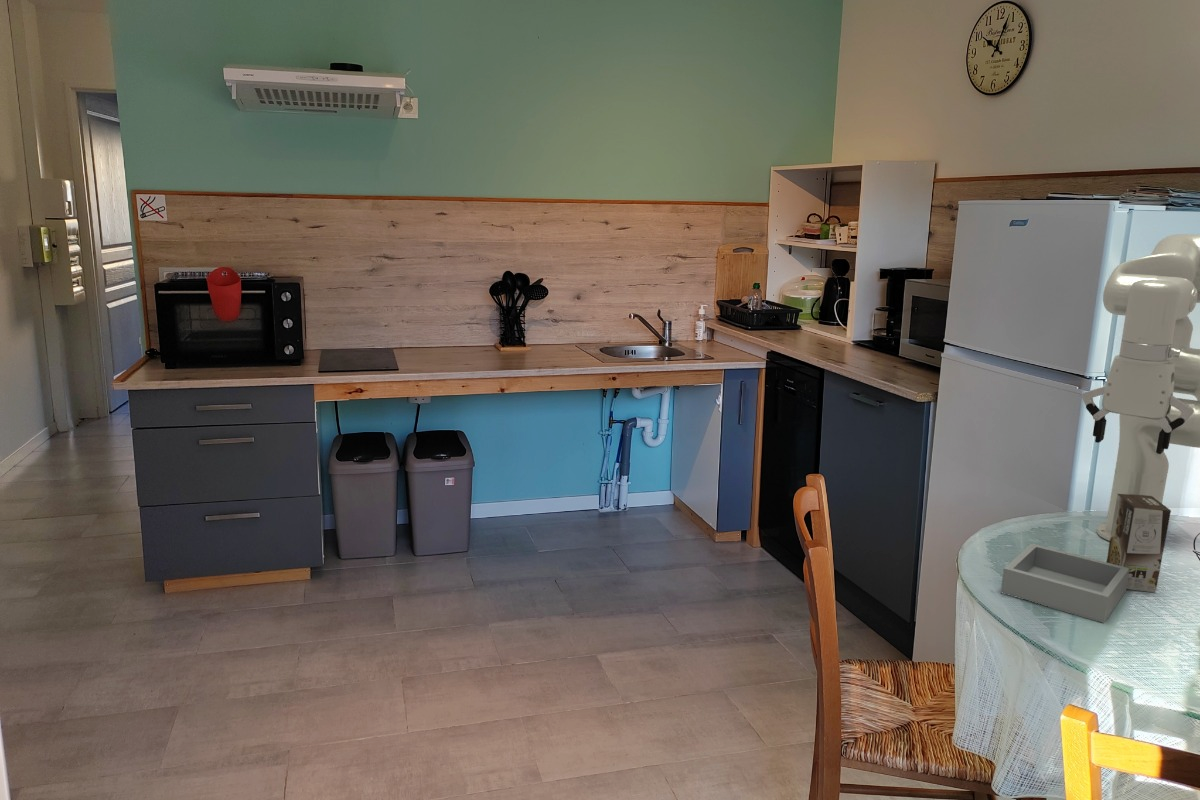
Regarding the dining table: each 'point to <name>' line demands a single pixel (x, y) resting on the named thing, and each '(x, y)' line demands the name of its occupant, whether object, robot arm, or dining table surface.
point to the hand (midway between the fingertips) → (1128, 446)
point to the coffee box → (1139, 539)
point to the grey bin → (1066, 582)
